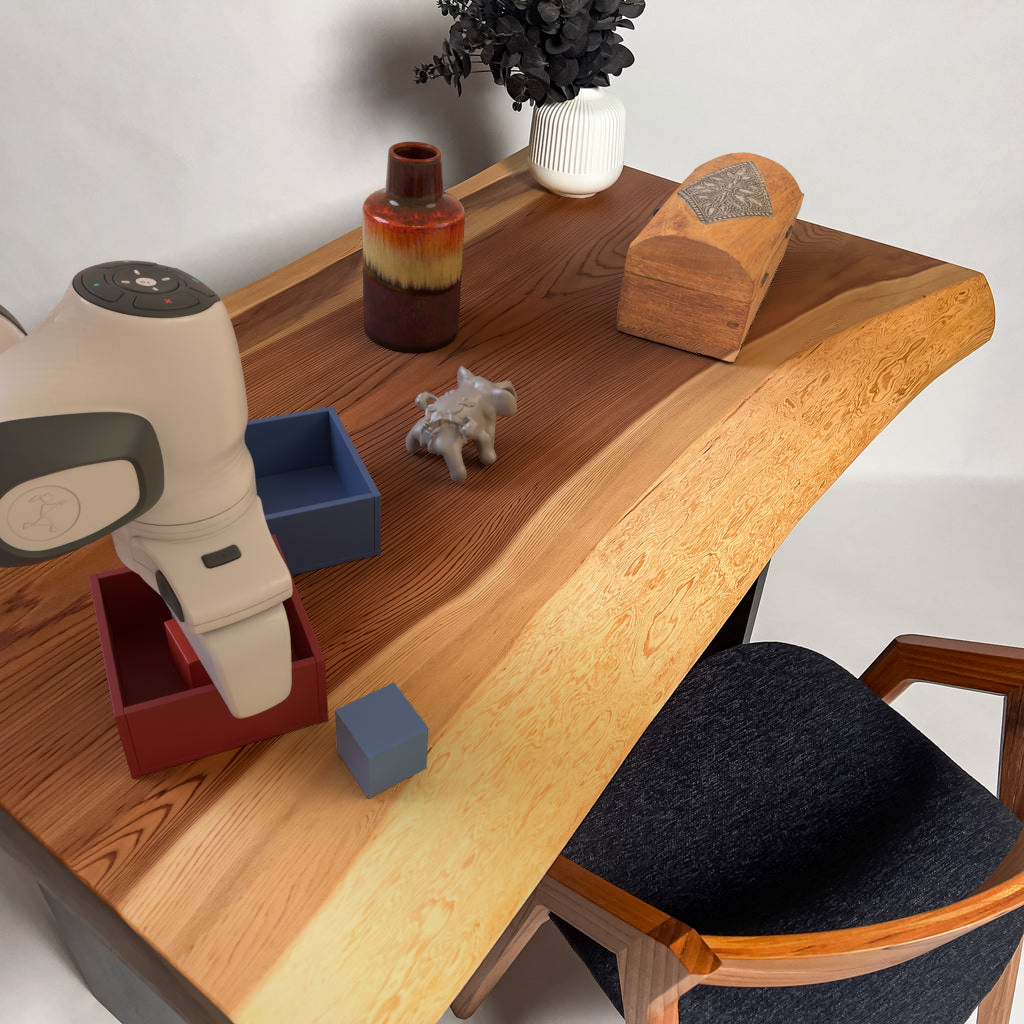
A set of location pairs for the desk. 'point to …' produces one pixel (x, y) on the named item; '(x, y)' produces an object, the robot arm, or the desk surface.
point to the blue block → (381, 739)
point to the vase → (412, 254)
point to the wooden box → (710, 253)
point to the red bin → (162, 694)
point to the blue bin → (314, 489)
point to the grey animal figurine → (462, 420)
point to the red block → (185, 658)
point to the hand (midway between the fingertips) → (210, 660)
